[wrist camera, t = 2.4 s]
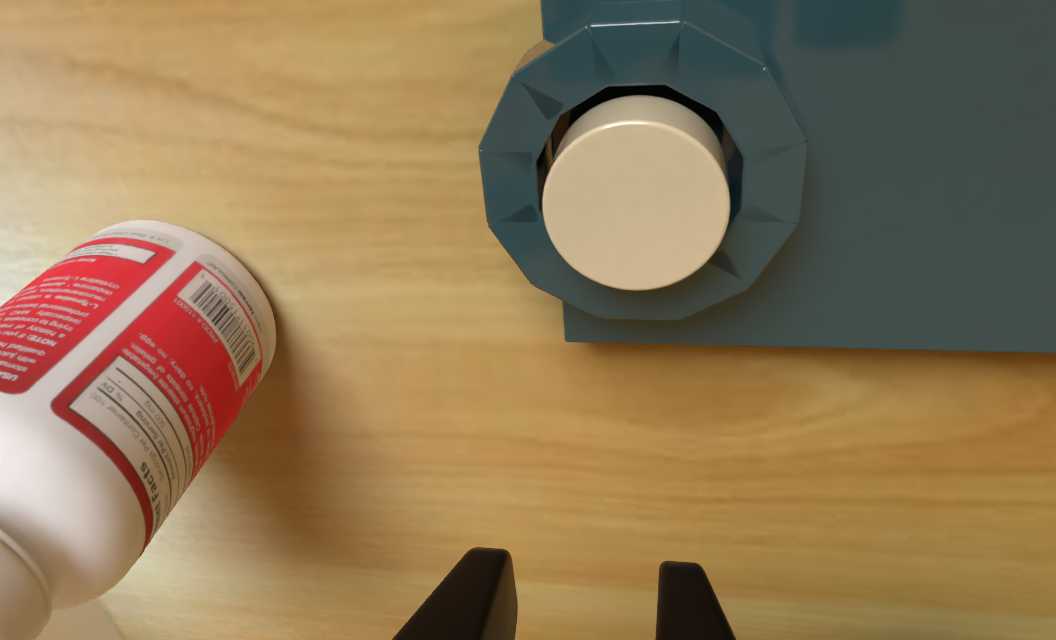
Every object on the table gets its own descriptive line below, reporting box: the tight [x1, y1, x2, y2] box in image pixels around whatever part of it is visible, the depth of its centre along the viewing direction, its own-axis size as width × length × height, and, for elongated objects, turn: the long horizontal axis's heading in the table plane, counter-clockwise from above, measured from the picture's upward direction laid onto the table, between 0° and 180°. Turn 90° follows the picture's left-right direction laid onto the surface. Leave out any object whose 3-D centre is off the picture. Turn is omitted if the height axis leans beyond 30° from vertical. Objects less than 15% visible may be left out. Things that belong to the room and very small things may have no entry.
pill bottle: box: [0, 220, 276, 640], centre depth 20 cm, size 6×6×11 cm
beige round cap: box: [542, 95, 731, 291], centre depth 17 cm, size 4×4×2 cm
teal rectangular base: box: [478, 0, 1056, 354], centre depth 17 cm, size 17×10×3 cm, turn 95°
